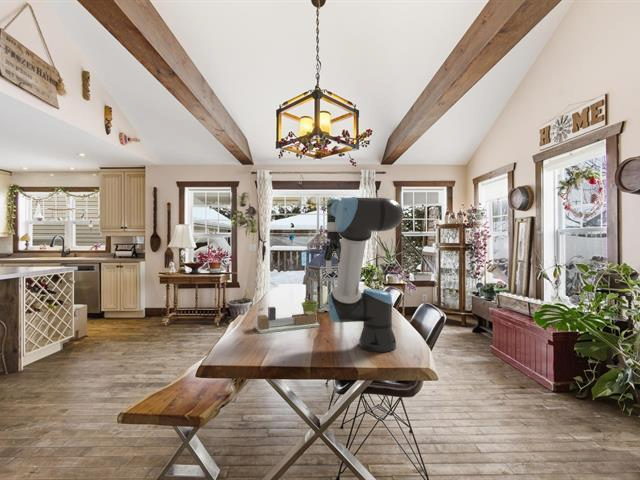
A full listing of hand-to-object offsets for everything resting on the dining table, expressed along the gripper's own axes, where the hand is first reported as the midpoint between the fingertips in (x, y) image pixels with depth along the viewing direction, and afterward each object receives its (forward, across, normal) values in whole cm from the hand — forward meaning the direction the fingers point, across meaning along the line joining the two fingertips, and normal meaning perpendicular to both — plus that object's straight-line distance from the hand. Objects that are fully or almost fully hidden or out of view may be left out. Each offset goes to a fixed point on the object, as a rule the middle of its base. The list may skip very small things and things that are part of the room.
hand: (334, 274), depth 166 cm
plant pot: (+27, +25, +3) cm, 37 cm away
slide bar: (+25, +13, +24) cm, 37 cm away
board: (+27, +13, +20) cm, 36 cm away
